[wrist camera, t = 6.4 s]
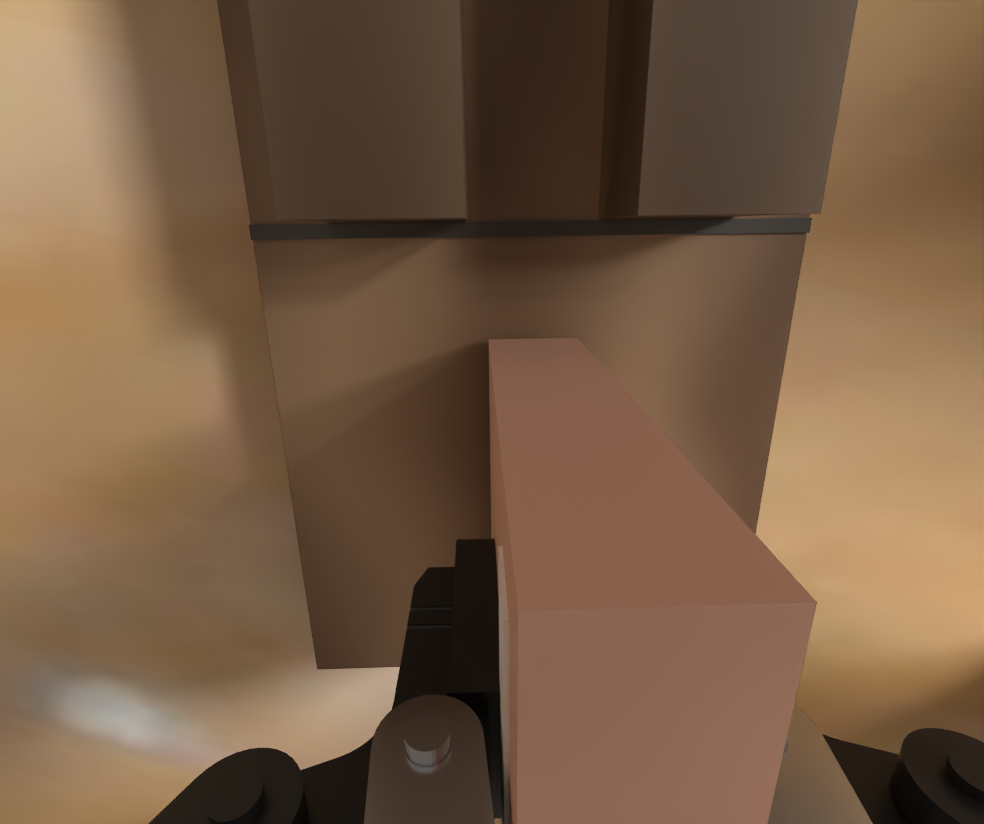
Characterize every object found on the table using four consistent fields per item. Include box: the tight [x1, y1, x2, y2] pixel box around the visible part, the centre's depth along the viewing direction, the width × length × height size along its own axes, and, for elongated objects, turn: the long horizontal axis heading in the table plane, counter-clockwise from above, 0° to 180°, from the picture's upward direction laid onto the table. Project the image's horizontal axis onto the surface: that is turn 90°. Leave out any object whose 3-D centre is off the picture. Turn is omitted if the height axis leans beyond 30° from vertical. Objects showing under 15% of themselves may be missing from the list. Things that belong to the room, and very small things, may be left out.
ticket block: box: [217, 0, 858, 669], centre depth 11 cm, size 12×22×5 cm, turn 1°
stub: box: [489, 338, 817, 824], centre depth 9 cm, size 2×8×9 cm, turn 1°
